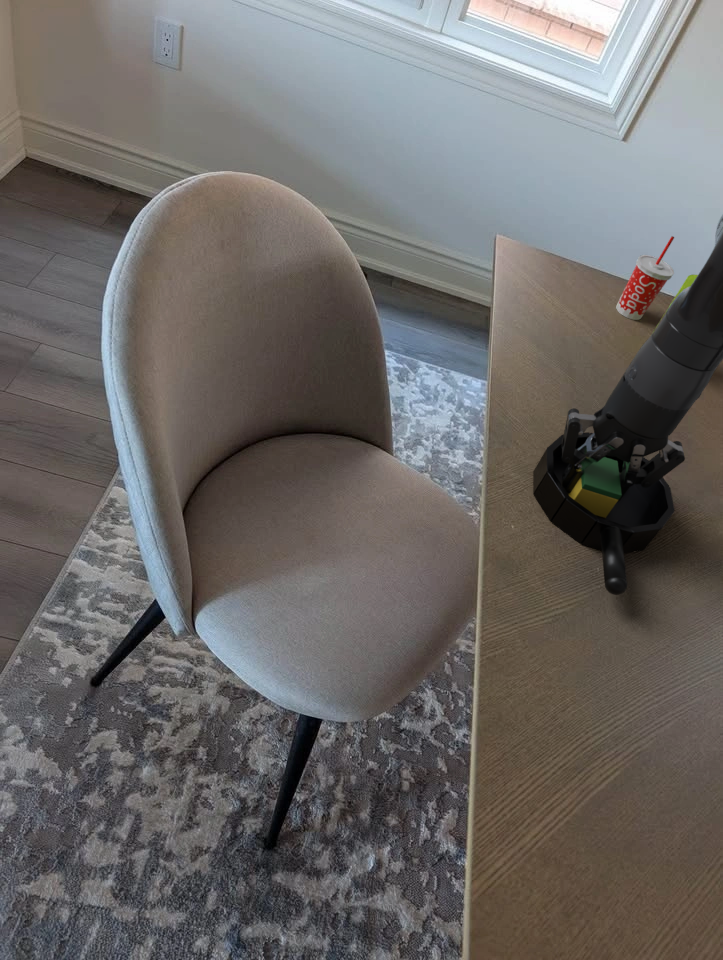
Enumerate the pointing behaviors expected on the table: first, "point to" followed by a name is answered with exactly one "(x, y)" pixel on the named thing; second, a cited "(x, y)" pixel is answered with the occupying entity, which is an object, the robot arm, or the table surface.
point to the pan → (613, 535)
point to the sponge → (598, 487)
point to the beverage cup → (644, 285)
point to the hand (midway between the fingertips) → (586, 493)
